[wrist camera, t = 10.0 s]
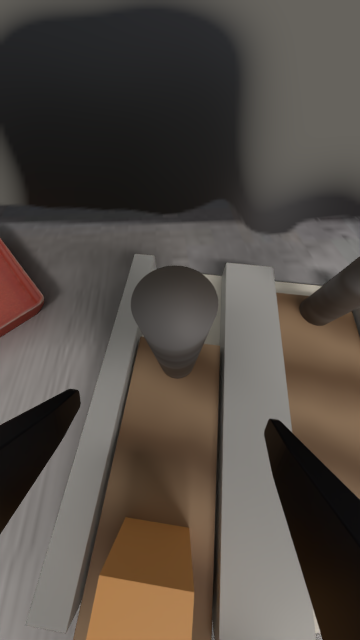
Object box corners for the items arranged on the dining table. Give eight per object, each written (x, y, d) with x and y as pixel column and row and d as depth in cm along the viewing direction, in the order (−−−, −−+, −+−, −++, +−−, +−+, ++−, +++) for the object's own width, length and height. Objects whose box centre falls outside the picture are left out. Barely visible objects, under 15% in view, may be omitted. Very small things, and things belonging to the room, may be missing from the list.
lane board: (454, 645, 12) (548, 729, 9) (60, 573, 13) (25, 625, 10) (346, 292, 23) (371, 276, 20) (140, 271, 24) (134, 253, 21)
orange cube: (181, 633, 10) (183, 784, 6) (107, 618, 11) (62, 756, 7) (189, 527, 12) (194, 592, 8) (125, 517, 12) (99, 575, 8)
